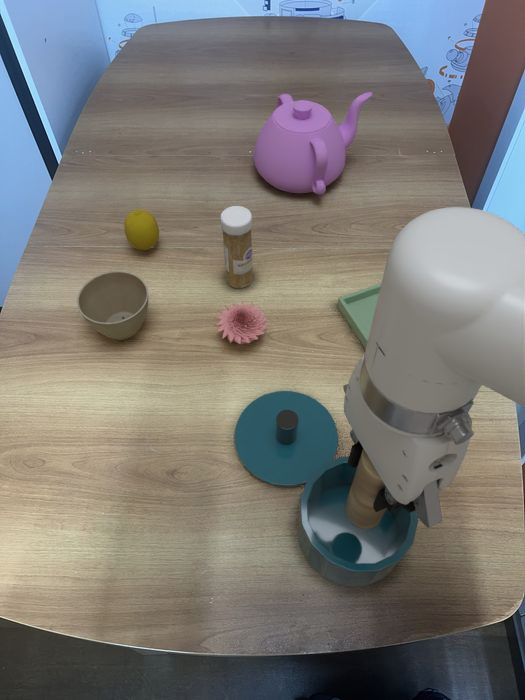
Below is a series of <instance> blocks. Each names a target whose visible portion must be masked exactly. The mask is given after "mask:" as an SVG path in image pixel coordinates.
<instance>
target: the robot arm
mask: <svg viewBox="0 0 525 700" xmlns="http://www.w3.org/2000/svg"><path fill="white" fill-rule="evenodd" d="M384 266H385V267H384V271H383V275H382V279H381V283H380V284H381V287H380V291H379V296H378V300H377V304H376V308H375V312H374V317H373V321H372V325H371V330H370V334H369V338H368V342H367V347H366V349H365V352H364V353H363V355H362V356H361V357H360V358H359V360H358V361H357V362H356V365H355V367H354V368H353V371H352V372H351V375H350V377H349V380H348V383H347V384H344V385H343V386H342V388H343V392H344V398H343V412H344V415H345V417H346V420H347V422H348V424H349V426H350V428H351V430H350V431H349V436H350V439H351V441H352V443H353V444H352V445H351V448H350V452H349V455H348V457H349V459H348V463H349V465H350V467H352V468H354V467H357V466H358V463H359V460H360V457H361V454H362V450H363V448H364V450H365V452H366V454H367V455H368V457H369V459H370V460H371V462H372V464H373V466H374V467H375V469H376V471H377V472H378V474H379V476H380V477H381V479H382V481H383V482H384V484H385V488H383V489H381V490H380V491H379V492H378V494H377V496H376V499H375V501H374V503H373V505H374V506H373V508H374V510H375V512H379V511H381V510H383V509H385V508H387V509H388V511H389V512H393V511H395V510H397V509H399V508H401V507H403V508H404V509H405V510H407V511H408V512H410V513H411V512H413V511H414V512H415V516H416V517H417V518H418V521H420V522H421V523H422V524H423V525H424V526H425V527H426V528H431V527H432V526H436V525H437V524H439V523H441V522H443V514H442V508H441V500H440V493H439V491H442V490H443V489H445V488H447V487H448V486H450V485H451V484H452V482H453V481H454V479H455V477H456V476H457V474H458V472H459V471H460V469H461V466H462V464H463V462H464V460H465V457H466V455H467V451H468V448H469V445H470V440H471V438H472V437H474V434H475V432H474V431H473V430H472V428H473V420H472V418H471V415H470V414H469V412H470V411H471V409H472V407H473V406H474V405H475V402H474V399H475V398H476V396H477V395H478V393H479V391H480V389H481V387H482V386H483V387H486V388H488V389H490V390H491V391H493V392H496V393H497V394H499V395H501V396H503V397H505V398H507V399H509V400H510V401H512V402H514V403H516V404H517V405H519V406H522V407H523V408H525V233H524V232H523V231H522V230H521V229H520V228H519V227H517V226H516V225H515V224H513V223H512V222H510V221H508V220H506V219H505V218H503V217H502V216H499V215H496V214H494V213H492V212H489V211H487V210H483V209H478V208H472V207H463V206H449V207H441V208H436V209H432V210H429V211H427V212H423V213H422V214H420V215H418V216H416V217H415V218H413V219H412V220H410V221H409V222H408V223H407V224H405V226H404V227H403V228H402V229H401V230H400V231H398V234H397V236H396V237H395V238H394V240H393V241H392V244H391V245H390V249H389V252H388V255H387V258H386V262H385V265H384Z"/></svg>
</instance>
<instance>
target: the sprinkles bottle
mask: <svg viewBox="0 0 525 700" xmlns="http://www.w3.org/2000/svg"><path fill="white" fill-rule="evenodd" d="M220 228H221V230H222V231H221V232H222V244H223V245H222V247H223V257H224V268H225V281H226V283H227V284H228V285H229V286H230V287H232V288H234V289H244V288H247V287H249V286H250V285H251V284H252V283H253V281H254V274H253V261H254V260H253V259H254V257H253V245H252V243H253V241H252V240H253V239H252V228H253V214H252V212H251V211H250V210H249V208H246V207H244V206H241V205H232V206H229V207H227V208H225V209H224V210H223V211H222V212H221V214H220Z"/></svg>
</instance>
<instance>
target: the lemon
mask: <svg viewBox="0 0 525 700" xmlns="http://www.w3.org/2000/svg"><path fill="white" fill-rule="evenodd" d="M123 226H124V227H123V230H124V235H125V238H126V240H127V241H128V243H129V244H130V245H131V246H132V247H133V248H134V249H137V250H140V251H147V250H150V249H152V248H153V247H154V246H155V245H156V244H157V243H158V241H159V238H160V228H159V224H158V221H157V219H156V218H155V216H154V215H153V214H152V213H151V212H150V211H148V210H146V209H134V210H132V211H130V212H129V213H128V214H127V216H126V217H125V220H124V225H123Z"/></svg>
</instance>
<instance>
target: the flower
mask: <svg viewBox="0 0 525 700" xmlns="http://www.w3.org/2000/svg"><path fill="white" fill-rule="evenodd" d="M232 305H233V306H228V305H224V307H225V308H226V309H227V310H218V313H220V314H222V315H221V316H216V317H214V320H215V319H216V320H219V321H218V322H217V323H215V324H213V326H214V327H218V326H219V328H218V330H217V331H216V334H219V333H221V332H222V337H221V339H225V338H227V339H228V341H229V343H230V344H231V343H232V342H235V343H236V344H239V345H244V344H250V343H252V342H253V341H256V340H257V341H258V340H259V337H260V336H261V335H264V334H266V332H265V331H264V330H265V329H267V328H268V327H269V325H268V324H266V323H267V321H268V320H269V318H268V317H265V313H266V310H265V311H262V312H261V310H260V307H261V306H260V305H258V306H256V307H254V305H253V302H250V303H249V304H248V305H247V304H246V303H245V302H244V301H243V300H242V301H241V305H239V304H238V303H236V302H235V301H233V302H232Z"/></svg>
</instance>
